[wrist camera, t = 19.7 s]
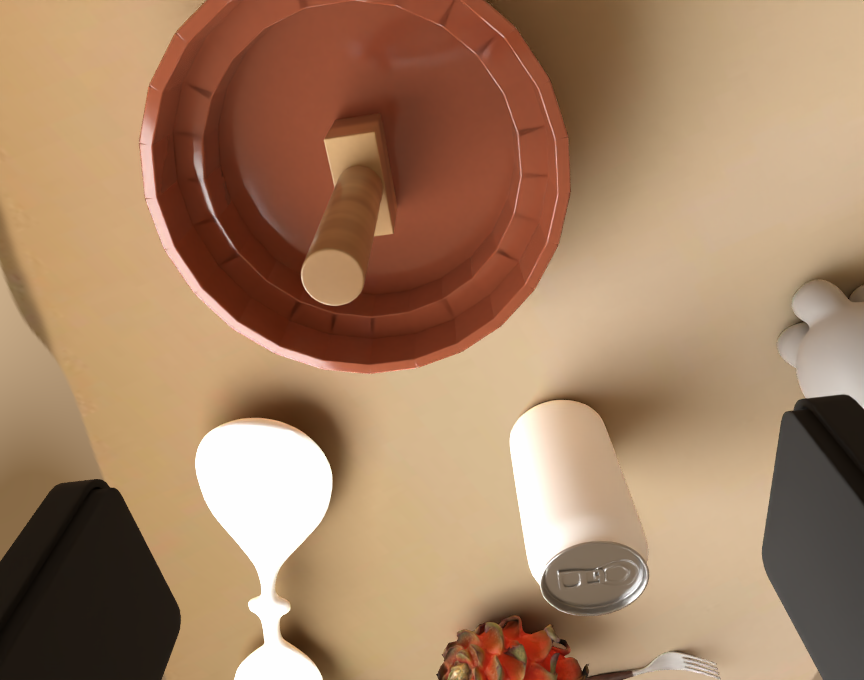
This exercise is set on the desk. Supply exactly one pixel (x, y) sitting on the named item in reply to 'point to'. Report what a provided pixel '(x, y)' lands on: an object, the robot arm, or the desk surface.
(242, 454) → the spoon
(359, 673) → the desk surface
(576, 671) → the dragon fruit
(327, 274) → the wooden stamp
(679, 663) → the fork
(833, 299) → the chubby cartoon animal
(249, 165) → the bowl
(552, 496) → the can
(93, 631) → the robot arm
